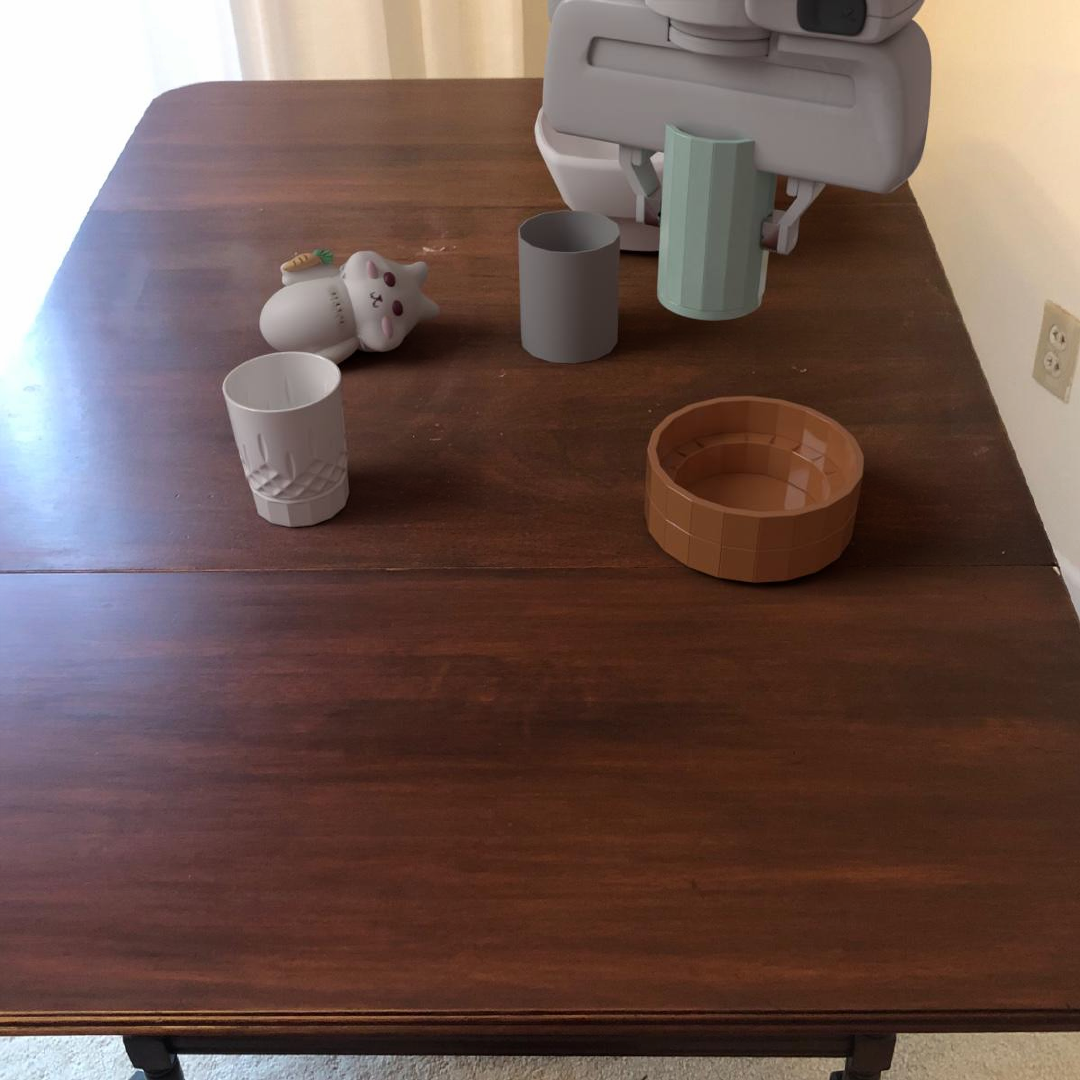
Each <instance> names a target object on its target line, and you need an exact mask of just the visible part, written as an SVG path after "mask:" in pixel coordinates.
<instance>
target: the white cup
mask: <svg viewBox="0 0 1080 1080" xmlns="http://www.w3.org/2000/svg"><path fill="white" fill-rule="evenodd" d="M222 393H223V398H224V401H225V404H226V405H225V406H226V410H227V412H228V416H229V420H230V424H231V428H232V432H233V436H234V441H235V444H236V448H237V450H238V453H239V457H240V462H241V465H242V467H243V471H244V475H245V479H246V481H247V482H248V484H249V487H250V491H251V495H252V500H253V502H254V505H255V509H256V511H257V514H258V516H260V518H261V517H262V518H263V519H264V520H266V521H267V522H269V523H270V524H273V525H277V526H282V527H288V528H298V527H306V526H314V525H316V524H319V523H321V522H324V521H327V520H330V519H332V518H333V517H334V516H336V514H338V513H339V512H340V511H341V510H342V509H344V508H345V507H346V504H347V501H348V498H349V495H350V487H349V476H348V449H347V428H346V418H345V406H344V405H345V404H344V395H343V394H344V393H343V382H342V372H341V370H340V368H339V367H338V364H337V365H336V364H335V363H334V362H332V361H331V360H329V359H327V358H325V357H323V356H320V355H317V354H312V353H307V352H280V351H278V352H272V353H267V354H262V355H259V356H257V357H254V358H251V359H248V360H247V361H245V362H243V363H241V364H239V365H238V366H236V367H235V368H233V369H232V370H231V371H230V372H229V373H228V374H227V375H226V376H225V378H224V381H223V383H222Z"/></svg>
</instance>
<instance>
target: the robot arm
mask: <svg viewBox="0 0 1080 1080" xmlns="http://www.w3.org/2000/svg"><path fill="white" fill-rule="evenodd" d="M925 1H926V0H547V14H548V19H549V21H550V27H549V33H548V39H547V46H546V53H545V61H544V69H543V70H544V71H543V83H542V106H543V112H544V114H545V116H546V118H547V119H548V121H549V123H550V124H551V126H552V128H553V129H554V130H555V131H556V132H558V133H562V134H567V135H573V136H578V137H583V138H589V139H594V140H599V141H604V142H610V143H615V144H619V164H620V166H621V168H622V170H623V172H624V174H625V176H626V178H627V180H628V182H629V184H630V186H631V188H632V190H633V192H634V194H636V195H637V203H636V221H637V223H640V224H644V225H650V226H656V227H660V218H661V198H662V186H661V184H660V182H659V179H658V177H657V174H656V172H655V169H654V167H653V164H652V162H651V159H650V157H652V156H653V155H654V154H656V153H657V152H662V153H664V147H665V135H666V125H672V126H676V127H677V128H678V129H679V130H680V131H682V132H685V133H687V134H690V135H693V136H696V137H701V138H707V139H713V140H741V139H750V140H754V141H755V143H754V151H753V163H754V168H755V169H756V170H757V171H762V172H767V173H772V174H777V176H783V177H787V184H786V194H787V196H789V197H794V198H795V197H796V198H795V200H794V201H793V202H792V204H790V206H789V207H788V209H787V210H782V209H777V208H776V209H775V208H774V210H773V212H772V213H771V214H770V216H769V217H767V219H765V220H764V221H763V225H762V235H763V237H764V238H763V239H762V240H761V243H760V248H761V249H762V250H765V251H769V253H775V254H779V255H784V256H788V255H789V254H790V253H791V252H792V250H794V248H795V247H796V245H797V241H798V236H799V229H800V228H799V226H800V221H801V220H800V219H801V216H803V215H804V214H805V212H806V211H807V210H808V209H809V208H810V206H811V205H812V203H813V202H814V201H815V200H816V198H817V197H818V196H819V195H820V193H821V192H822V191H823V190H824V188H825V187H826V185H831V186H836V187H841V188H847V189H851V190H857V191H862V192H868V193H872V194H877V195H888V194H891V193H892V192H893V191H895V190H896V189H897V188H899V187H900V186H901V185H902V184H904V183H905V182H906V181H907V180H908V179H910V177H912V175H913V174H914V173H915V171H916V170H917V168H918V166H919V165H920V163H921V161H922V158H923V156H924V151H925V146H926V140H927V133H928V128H929V127H928V125H929V118H930V107H931V96H932V94H931V93H932V68H933V67H932V64H933V63H932V52H931V51H932V50H931V47H930V41H929V40H928V39H929V38H928V37H927V34H926V33H925V31H924V29H923V28H922V26H921V25H919V23H917V22H916V20H914V18H915V17H916V15H917V14H918V13H919V12H920V10H921V9H922V7H923V5H924V3H925Z"/></svg>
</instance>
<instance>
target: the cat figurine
mask: <svg viewBox="0 0 1080 1080" xmlns="http://www.w3.org/2000/svg"><path fill="white" fill-rule="evenodd" d="M334 253H335V252H334V251H332V250H331V249H328V250H327V249H324V248H323V249H321V248H316V249H314V250H313V252H312V253H310V252H309V253H308V252H306V253H305V252H304V253H301V254H298V255H297V256H295V257H293V258H292V259H291V260H289V261H286V262H284V263H282V264H281V265H280V272H281V274H282V276H281V282H282V284H283V285H284V287H282V288H281V289H279V290H278V291H276V292H275V293H274V294H273V295H271V297H270V298H269V299H268V300H267V301H266V303H265V304H264V306H263V308H262V310H261V312H260V315H259V316H260V317H259V329H260V333H261V335H262V337H263V338H264V340H265V341H266V342H267V344H269V346H271V347H272V348H274V349H275V350H277V351H278V352H307V353H312V354H317V355H320V356H323V357H325V358H327V359H329V360H331V361H332V362H334V363H335V364H336V365H337V366H338V365H339V364H340V363H342V362H344V361H345V360H346V359H348V358H349V357H350V356H352V355H353V354H354V353H355V352H356V351H357V350H360V351H362V352H367V353H375V352H378V353H379V352H380V353H384V352H390V351H392V350H394V349H396V348H397V347H399V346H400V345H401V343H403V341H404V338H405V337H406V336H408V335H409V333H410V332H411V331H412V330H413V329H414V327H415V326H416V325H417V324H418V323H419V322H421V321H423V320H430V319H431V320H432V319H434V318H437V317H438V316H439V314H440V306H439V304H438V303H437V302H435V301H434V300H432V299H431V298H429V297H427V296H426V295H425V294H424V293H423V287H424V284H425V283H426V281H427V279H428V277H429V274H430V267H429V265H428V264H427V263H426V262H425V261H416V262H414V263H412V264H402V263H399V262H396V261H394V260H391V259H388V258H384V257H383V256H382V255H381V254H380V253H377V252H376V251H372V250H362V251H361V250H360V251H357V252H355V253H353V254H352V255H351V256H350V257H349V258H348V260H347V261H346V262H345V263H343V264H341V265H340V267H339V268H338V267H336V266H334V265H332V264H334V263H335V262H334V261H335V260H334V255H335V254H334Z"/></svg>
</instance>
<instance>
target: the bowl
mask: <svg viewBox="0 0 1080 1080" xmlns="http://www.w3.org/2000/svg"><path fill="white" fill-rule="evenodd" d="M534 136H535V143H536V145H537V147H538V150H539V153H540V154H541V157H542V158H543V160H544V162H545V164H546V167H547V168H548V169H547V170H548V171H549V173H550V175H551V177H552V179H553V181H554V184H555V185H556V187H557V189H558V191H559V193H560V196H561V198H562V200H563V202H564V203H565V204H566V205H567V206H568V207H569V209H571V211H587V212H591V213H595V214H599V215H603V216H606V217H607V218H609V219H610V220H612V221H614V222H615V223H617V224H618V228H619V231H620V251H621V250H622V251H633V252H659V237H660V227H656V226H650V225H644V224H640V223H637V221H636V203H637V195H636V194H634V192H633V190H632V188H631V186H630V184H629V182H628V180H627V178H626V176H625V174H624V172H623V170H622V168H621V166H620V164H619V144H615V143H610V142H604V141H599V140H594V139H589V138H583V137H578V136H573V135H567V134H562V133H558V132H556V131H555V130H554V129H553V128H552V126H551V124H550V123H549V121H548V119H547V118H546V116H545V114H544V112H543V105H542V106H541V107H540V108H539V111H538V114H537V117H536V121H535V124H534ZM650 159H651V162H652V164H653V167H654V169H655V172H656V174H657V177H658V179H659V182H660V184H661V186H662V178H663V159H664V153H662V152H657V153H656V154H654V155H653V156H652V157H650Z"/></svg>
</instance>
